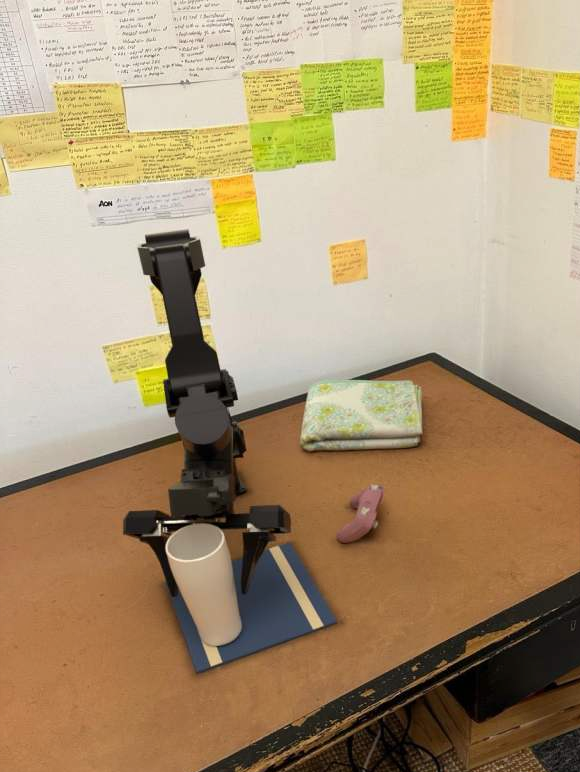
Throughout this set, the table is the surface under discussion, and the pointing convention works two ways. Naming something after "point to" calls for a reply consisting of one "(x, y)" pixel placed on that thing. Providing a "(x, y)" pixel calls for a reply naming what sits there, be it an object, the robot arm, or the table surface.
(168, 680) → the table surface
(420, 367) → the table surface
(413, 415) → the towel
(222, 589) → the white tapered cup
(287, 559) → the cloth
